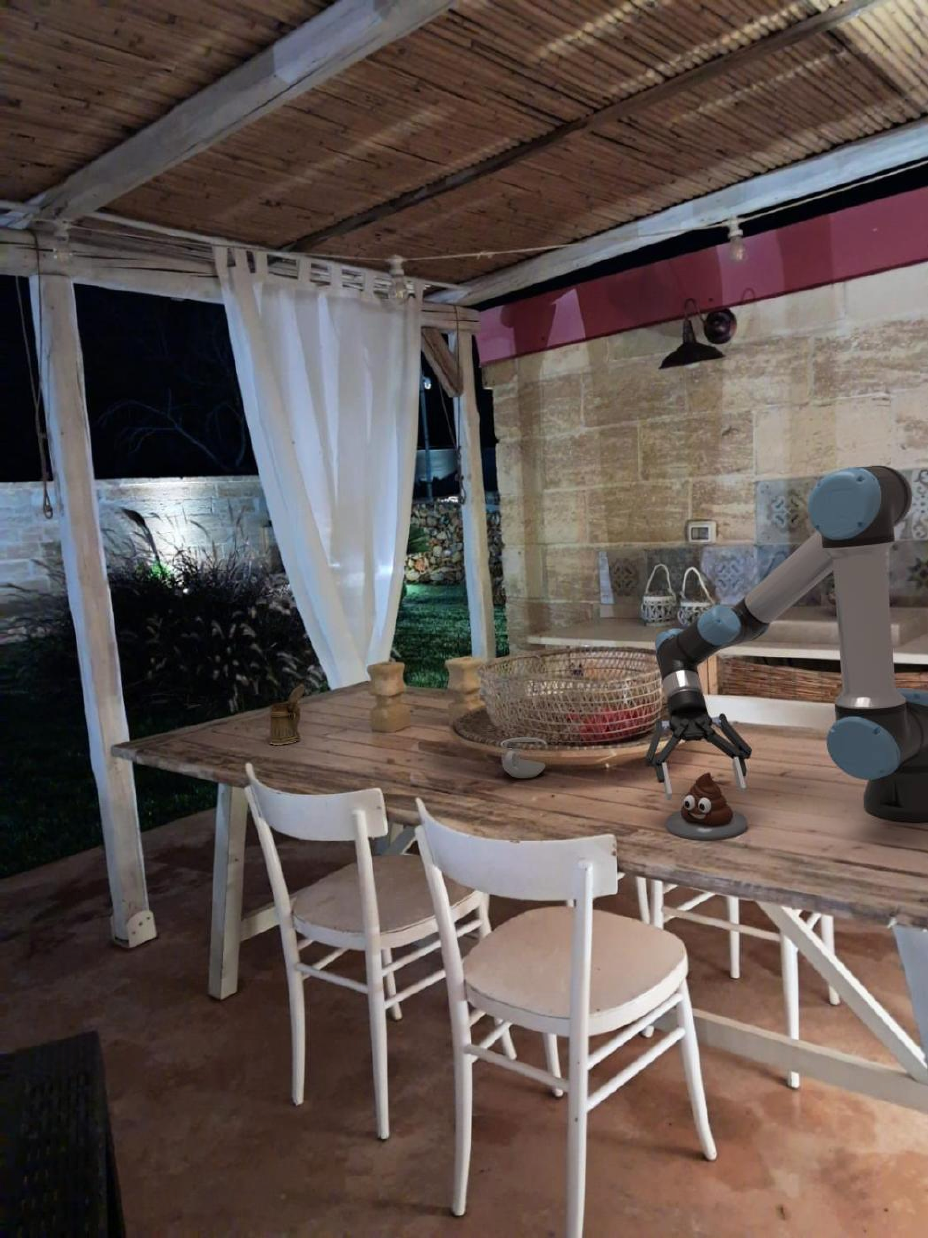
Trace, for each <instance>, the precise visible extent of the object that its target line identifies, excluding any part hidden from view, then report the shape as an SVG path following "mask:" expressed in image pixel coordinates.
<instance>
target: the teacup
mask: <svg viewBox="0 0 928 1238" xmlns="http://www.w3.org/2000/svg"><path fill="white" fill-rule="evenodd" d="M505 742H542V743H544V744H545V745H546V746H547V741H546V740H544V739H541V738H536V737H526V736H525V737H524V736H523V737H513V738H512V737H511V738H508V739H505V740H502V741H501V742H500V743H499V744H500V748H501V747H502V748H503V749H506V750H511V751H509V752H507V754H506V755H505V754H504V755H501V763H502V768H503V769H504V771H505V773H508V775H510V776H511V777H513V778H517V779H531V778H535V777H537V776H538V775H539V774H540V773H542V772H543V771H544V770H545V768H546V765H545V764H544V763H541V762H535V761H531V760H523V759H520V758H519V757H517V755H516V751H520V750H522V749H512V748H507V747H504V746H503V743H505ZM514 751H515V752H514Z"/></svg>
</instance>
